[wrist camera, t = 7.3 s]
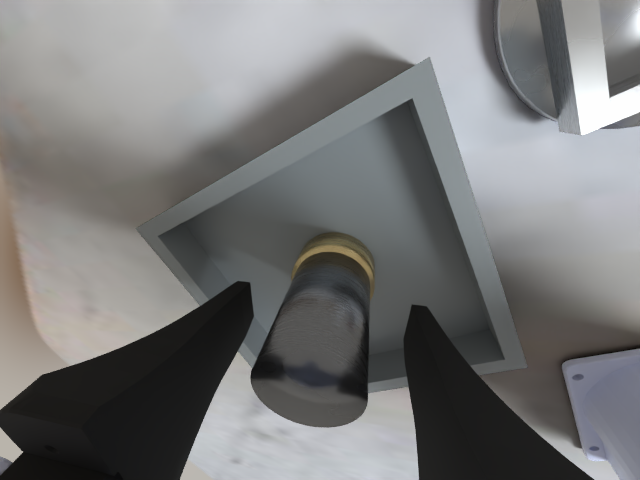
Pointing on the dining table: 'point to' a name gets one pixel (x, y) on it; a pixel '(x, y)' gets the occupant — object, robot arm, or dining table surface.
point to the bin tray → (355, 227)
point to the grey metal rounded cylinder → (320, 336)
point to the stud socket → (573, 60)
